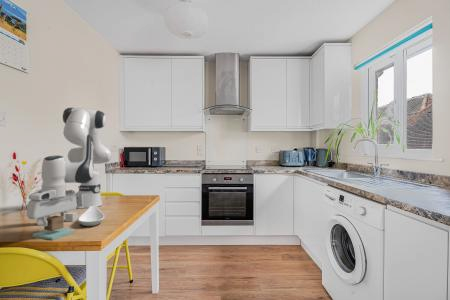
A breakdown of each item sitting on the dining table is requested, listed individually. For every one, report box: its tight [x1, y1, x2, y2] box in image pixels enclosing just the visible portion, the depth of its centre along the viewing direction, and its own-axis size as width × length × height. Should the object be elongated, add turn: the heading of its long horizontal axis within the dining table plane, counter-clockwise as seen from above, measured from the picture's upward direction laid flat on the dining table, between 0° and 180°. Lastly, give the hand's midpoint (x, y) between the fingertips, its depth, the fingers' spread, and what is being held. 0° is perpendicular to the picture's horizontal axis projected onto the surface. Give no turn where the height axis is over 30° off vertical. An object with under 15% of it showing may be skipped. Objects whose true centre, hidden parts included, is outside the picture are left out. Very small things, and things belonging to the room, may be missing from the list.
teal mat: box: [32, 228, 75, 241], centre depth 111 cm, size 12×10×1 cm
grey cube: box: [64, 211, 79, 223], centre depth 133 cm, size 4×4×4 cm
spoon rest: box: [77, 206, 105, 227], centre depth 131 cm, size 24×12×7 cm, turn 25°
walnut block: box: [43, 215, 64, 231], centre depth 111 cm, size 5×5×5 cm
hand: (53, 224), depth 111 cm, fingers closed on walnut block, 5 cm apart
